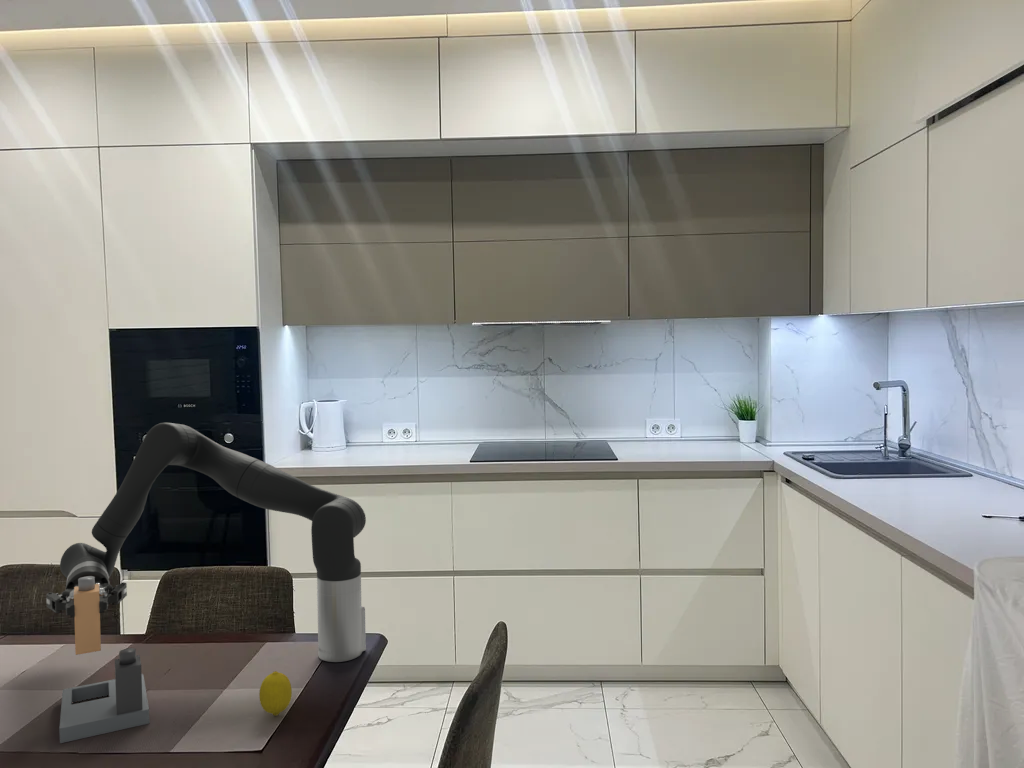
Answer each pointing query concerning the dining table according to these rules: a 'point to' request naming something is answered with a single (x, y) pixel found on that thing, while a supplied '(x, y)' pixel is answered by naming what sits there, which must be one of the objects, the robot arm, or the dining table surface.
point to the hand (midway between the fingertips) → (87, 609)
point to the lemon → (275, 693)
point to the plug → (87, 616)
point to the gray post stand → (106, 702)
